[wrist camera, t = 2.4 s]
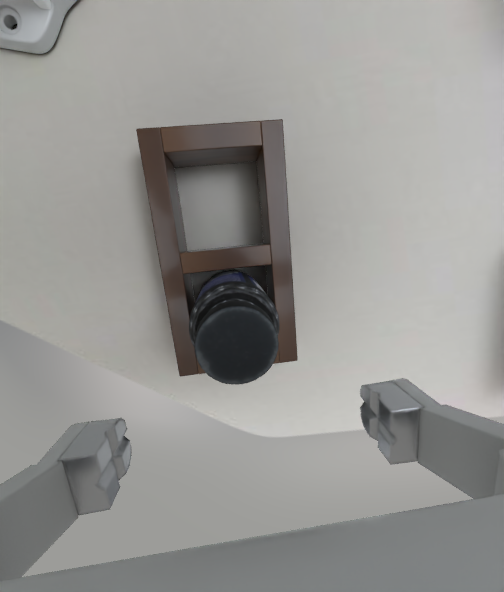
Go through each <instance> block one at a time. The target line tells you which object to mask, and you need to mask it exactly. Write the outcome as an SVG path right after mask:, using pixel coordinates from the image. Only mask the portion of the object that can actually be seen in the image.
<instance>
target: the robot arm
mask: <svg viewBox="0 0 504 592" xmlns="http://www.w3.org/2000/svg"><path fill="white" fill-rule="evenodd" d="M76 1H77V0H0V48H6V49H12V50H18V51H24V52H30V53H36V54H42V53H46V52H48V51H49V50H50V49H51V48H52V47H53V45H54V43H55V41H56V39H57V37H58V34H59V31H60V28H61V26H62V22H63V19H64V16H65V14H66V13H67V11H68V10H69V9H70V8H71V6H72V5H73V4H74V3H75V2H76ZM14 24H17V28H16V29H14V30H12V27H13V25H14ZM360 396H361V398H362V399H363V400H364V403H363V404H362V406H361V407H360V409H361V419H362V422H363V426H364V428H365V430H366V431H367V433H368V434H369V436H370V437H372V438H373V439H375V440H377V441H378V448H379V450H380V451H381V452H382V454H383V455H384V456H385V458H386V459H387V460H388V462H389V463H390V464H399V463H407V462H415V461H418V463H419V464H421V465H422V466H424V467H425V468H427V469H429V470H430V471H432V472H433V473H435V474H436V475H438V476H439V477H441V478H442V479H444V480H446V481H447V482H449V483H450V484H452V485H453V486H455V487H456V488H458V489H459V490H461V491H463V492H464V493H466V494H467V495H469V496H470V497H472V498H473V499H471V500H466V501H460V502H454V503H449V504H443V505H437V506H432V507H426V508H420V509H415V510H409V511H403V512H397V513H392V514H385V515H379V516H373V517H368V518H362V519H356V520H350V521H344V522H338V523H333V524H327V525H321V526H316V527H310V528H303V529H297V530H292V531H286V532H280V533H274V534H269V535H263V536H257V537H252V538H246V539H240V540H235V541H229V542H223V543H217V544H211V545H205V546H200V547H194V548H188V549H182V550H177V551H171V552H165V553H159V554H153V555H148V556H142V557H136V558H130V559H125V560H119V561H113V562H107V563H101V564H96V565H90V566H84V567H78V568H72V569H67V570H61V571H55V572H49V573H44V574H38V575H32V576H26V577H22V575H24V574H25V573H26V572H27V570H28V569H29V568H30V567H31V566H32V565H33V564H34V563H35V562H36V561H37V560H38V559H39V558H40V557H41V556H42V555H43V554H44V553H45V552H46V551H47V550H48V548H50V546H51V545H52V544H53V543H54V542H55V541H56V540H57V539H58V538H59V537H60V536H61V535H62V534H63V533H64V532H65V531H66V530H67V529H68V528H69V527H70V525H72V524H73V522H74V521H75V520H76V519H77V518H78V515H83V514H88V513H93V512H99V511H104V510H109V509H110V508H111V506H112V504H113V501H114V499H115V497H116V495H117V493H118V491H119V488H120V485H119V482H118V481H119V480H120V479H121V478H122V477H123V476H124V475H125V474H126V473H127V470H128V468H129V466H130V460H131V444H130V440H128V439H127V438H126V437H125V436H124V434H125V432H126V430H127V427H126V423H125V420H123V419H122V418H118V419H109V420H101V421H92V422H84V423H78V424H74V425H71V426H70V427H69V428H68V430H67V431H66V432H65V433H64V434H63V435H62V437H61V438H60V439H59V440H58V441H57V442H56V443H55V444H54V445H53V447H52V448H51V449H50V450H49V451H48V452H47V453H46V455H45V456H44V457H43V458H42V459H41V460H40V462H38V464H37V465H31V466H29V467H28V468H26V469H24V470H23V471H21V472H20V473H18V474H16V475H15V476H13V477H12V478H10V479H8V480H7V481H5V482H4V483H2V484H0V592H504V424H502V423H499V422H496V421H493V420H490V419H487V418H484V417H481V416H478V415H475V414H472V413H469V412H466V411H463V410H460V409H457V408H454V407H451V406H448V405H440V404H439V403H437V402H436V401H435V400H433V399H432V398H431V397H430V396H428V395H427V394H426V393H424V392H423V391H422V390H420V389H419V388H418V387H416V386H415V385H414V384H412V383H411V382H410V381H408V380H407V379H403V378H402V379H396V380H391V381H386V382H380V383H373V384H367V385H362V386H361V389H360Z"/></svg>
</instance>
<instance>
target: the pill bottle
mask: <svg viewBox="0 0 504 592" xmlns="http://www.w3.org/2000/svg"><path fill="white" fill-rule="evenodd" d="M279 326H280V325H279V316H278V312H277V310H276V307H275V306H274V304H273V302H272V301H271V299H270V298H269V297H268V295H267V294H266V293H265V292H264V290H263V289H262V288H261V287H260V285H259V284H258V283H257V282H256V280H255V279H254V278H252V277H251V276H249V275H247V274H246V273H244V272H241V271H237V270H228V271H222V272H220V273H217V274H215V275H213V276H212V277H211V278H209V279H208V280H207V281H206V282H205V284H204V286H203V287H202V289H201V292H200V294H199V296H198V299H197V300H196V303H195V305H194V307H193V310H192V312H191V316H190V321H189V334H190V335H189V336H190V338H191V342H192V344H193V346H194V348H195V355H196V358H197V361H198V363H199V365H200V366H201V368H202V369H203V370H204V372H206V373H207V374H208V375H209V376H210V377H212V378H213V379H215V380H217V381H219V382H222V383H225V384H244V383H248V382H251V381H254V380H256V379H257V378H259V377H261V376H262V375H263V374H265V373H266V372H267V371H268V370H269V369H270V367H271V366H272V364H273V362H274V361H275V359H276V356H277V352H278V346H279V342H278V333H279V330H280V329H279Z"/></svg>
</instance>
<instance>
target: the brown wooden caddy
mask: <svg viewBox="0 0 504 592" xmlns="http://www.w3.org/2000/svg"><path fill="white" fill-rule="evenodd" d="M136 131H137V136H138V142H139V148H140V153H141V159H142V165H143V170H144V176H145V182H146V187H147V193H148V199H149V204H150V210H151V216H152V221H153V227H154V233H155V238H156V244H157V250H158V255H159V261H160V267H161V272H162V278H163V284H164V289H165V295H166V301H167V306H168V312H169V318H170V323H171V329H172V335H173V340H174V346H175V352H176V357H177V363H178V369H179V374H180V376H187V375H194V374H202V373H206V372H204V370H203V369H202V368H201V366H200V365H199V363H198V361H197V358H196V355H195V348H194V346H193V344H192V342H191V338H190V336H189V335H190V334H189V321H190V316H191V312H192V310H193V307H194V305H195V299H194V292H193V286H192V279H191V273H197V272H206V271H215V270H225V269H234V268H243V267H252V266H262V265H265V270H266V281H267V293H268V297H269V298H270V299H271V301H272V302H273V304H274V306H275V307H276V310H277V312H278V316H279V325H280V326H279V329H280V330H279V333H278V342H279V346H278V352H277V356H276V359H275V361H274V362H273V364H275V363H279V362H280V363H282V362H289V361H297V344H296V328H295V312H294V296H293V279H292V263H291V247H290V231H289V215H288V198H287V182H286V166H285V150H284V133H283V120H282V119H281V120H265V121H261V122H260V121H250V122H235V123H219V124H204V125H188V126H173V127H160V128H159V127H158V128H143V129H137V130H136ZM244 162H256V164H257V175H258V187H259V199H260V211H261V223H262V234H263V243H262V244H252V245H242V246H233V247H223V248H213V249H203V250H193V251H187V246H186V239H185V232H184V226H183V219H182V213H181V206H180V199H179V193H178V186H177V179H176V173H175V168H179V167H192V166H205V165H218V164H231V163H244Z"/></svg>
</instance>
